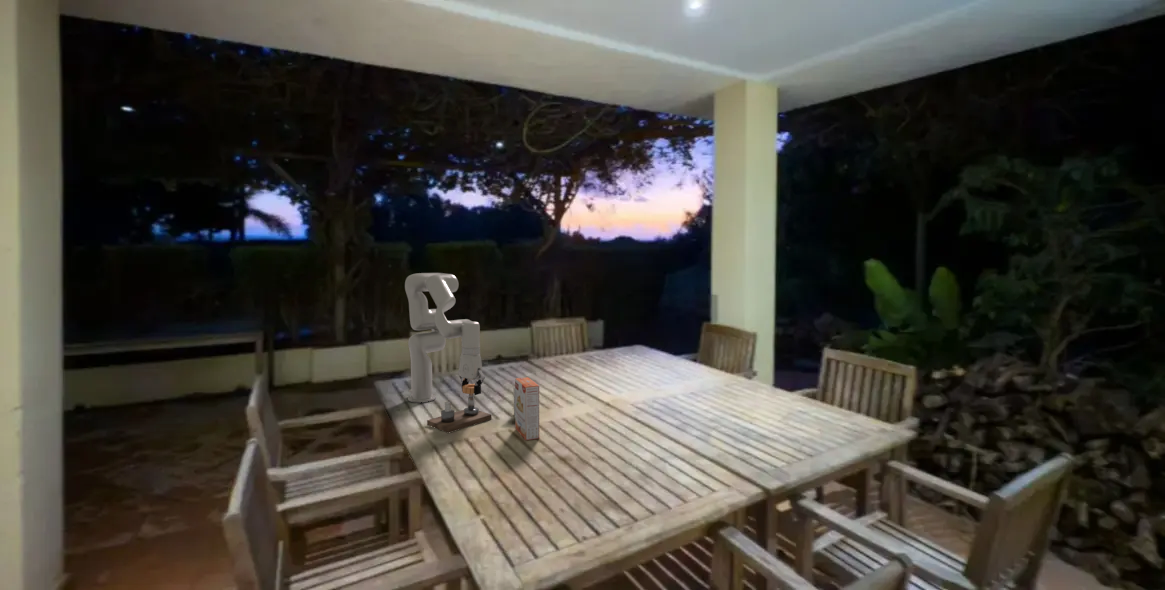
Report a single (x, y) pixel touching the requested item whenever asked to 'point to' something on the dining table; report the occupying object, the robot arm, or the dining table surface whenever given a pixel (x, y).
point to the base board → (459, 421)
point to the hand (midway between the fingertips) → (471, 392)
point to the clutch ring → (468, 389)
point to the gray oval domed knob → (447, 414)
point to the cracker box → (527, 408)
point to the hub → (471, 407)
